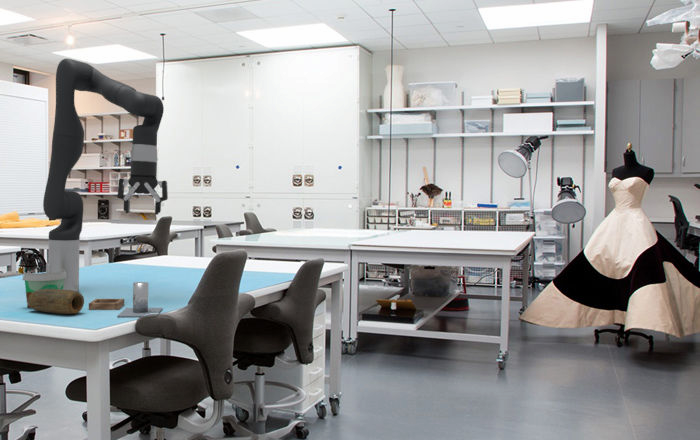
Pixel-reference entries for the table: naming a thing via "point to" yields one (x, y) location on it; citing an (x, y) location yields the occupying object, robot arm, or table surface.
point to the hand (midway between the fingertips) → (142, 213)
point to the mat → (129, 313)
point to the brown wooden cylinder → (56, 301)
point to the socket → (106, 304)
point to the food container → (43, 281)
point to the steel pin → (140, 297)
